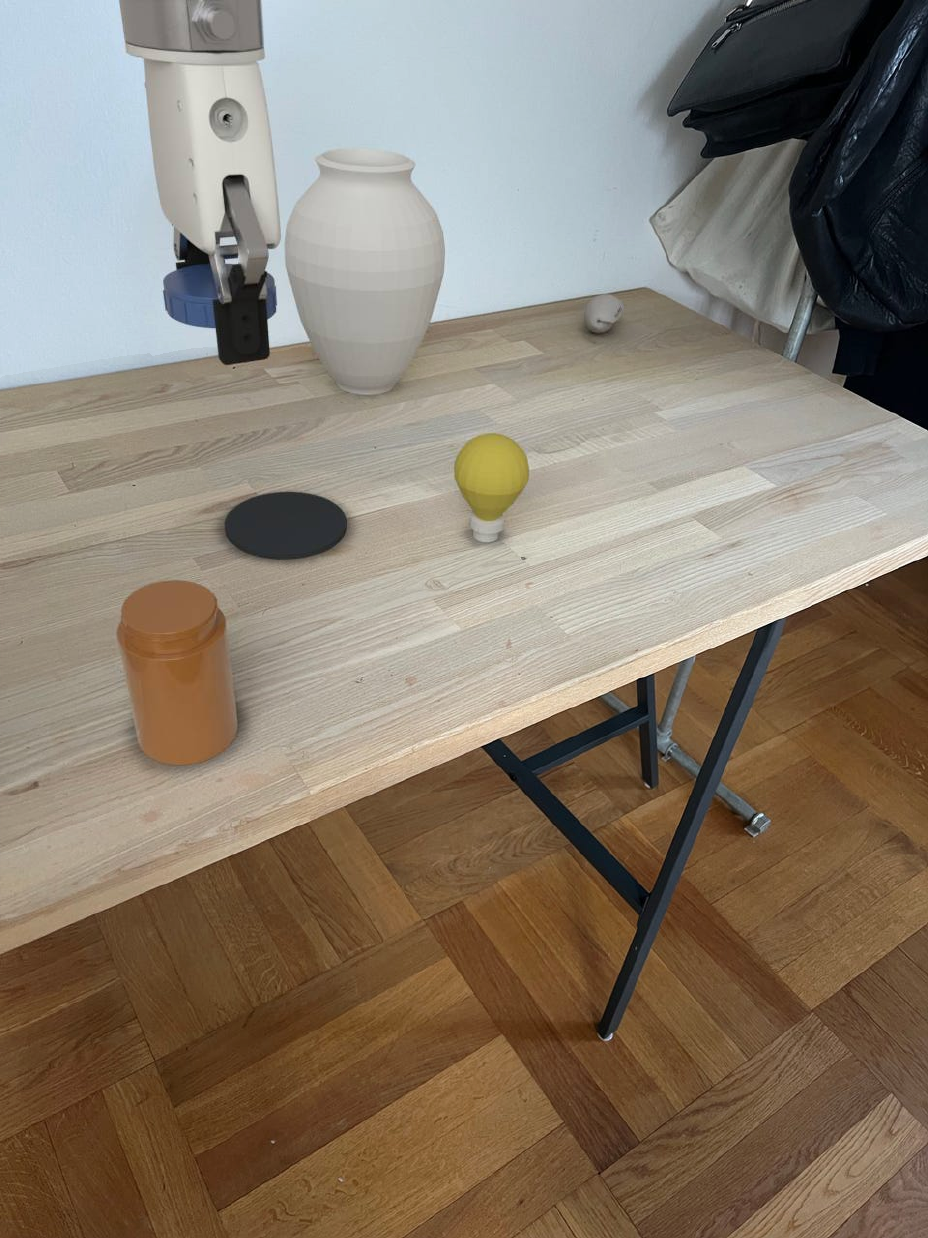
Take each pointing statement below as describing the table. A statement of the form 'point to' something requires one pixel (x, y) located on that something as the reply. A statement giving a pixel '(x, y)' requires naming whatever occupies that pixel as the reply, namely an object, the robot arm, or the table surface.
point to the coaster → (285, 525)
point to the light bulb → (490, 481)
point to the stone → (602, 313)
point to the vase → (364, 266)
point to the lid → (201, 295)
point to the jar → (178, 672)
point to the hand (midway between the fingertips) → (224, 337)
